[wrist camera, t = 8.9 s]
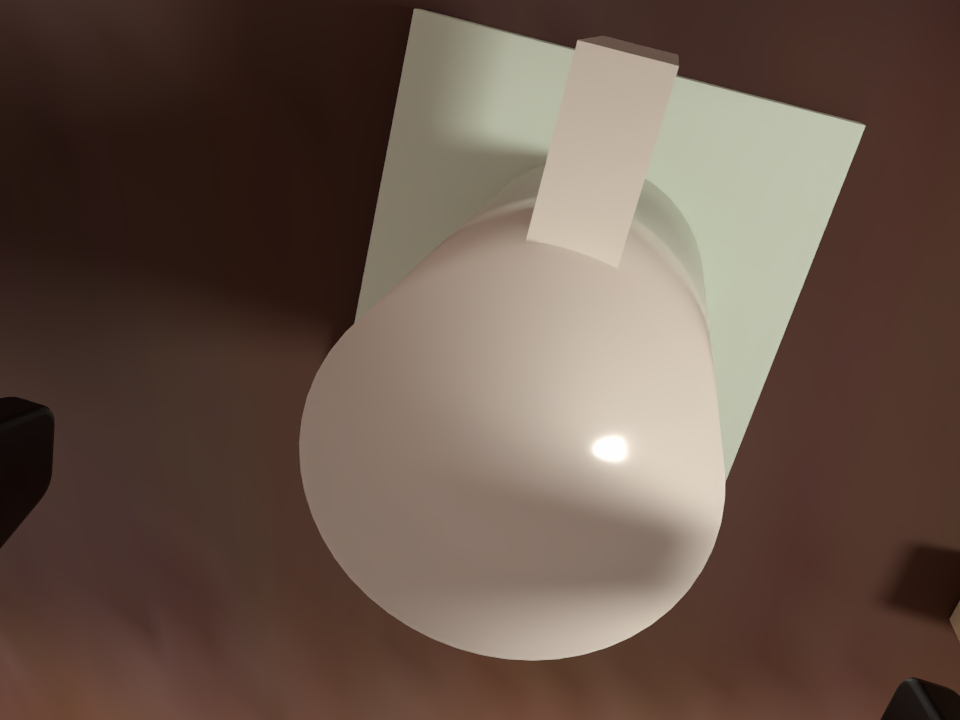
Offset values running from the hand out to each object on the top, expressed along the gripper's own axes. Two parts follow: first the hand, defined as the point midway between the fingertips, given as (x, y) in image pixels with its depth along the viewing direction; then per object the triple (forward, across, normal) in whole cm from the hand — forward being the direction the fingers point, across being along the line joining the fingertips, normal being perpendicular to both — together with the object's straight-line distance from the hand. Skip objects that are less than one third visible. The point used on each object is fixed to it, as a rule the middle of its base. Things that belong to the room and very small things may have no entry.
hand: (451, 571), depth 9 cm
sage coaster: (+12, 0, 0) cm, 12 cm away
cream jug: (+11, 0, -1) cm, 11 cm away
